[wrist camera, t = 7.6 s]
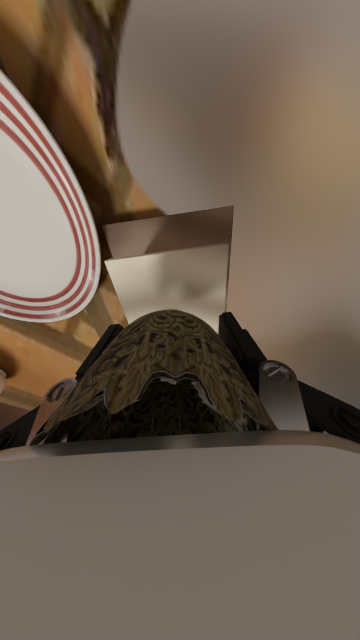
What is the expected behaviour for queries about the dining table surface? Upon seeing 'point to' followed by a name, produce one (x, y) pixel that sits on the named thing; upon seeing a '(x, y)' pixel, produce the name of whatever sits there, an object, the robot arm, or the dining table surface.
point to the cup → (161, 385)
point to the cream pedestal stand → (172, 263)
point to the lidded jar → (2, 380)
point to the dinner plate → (41, 220)
